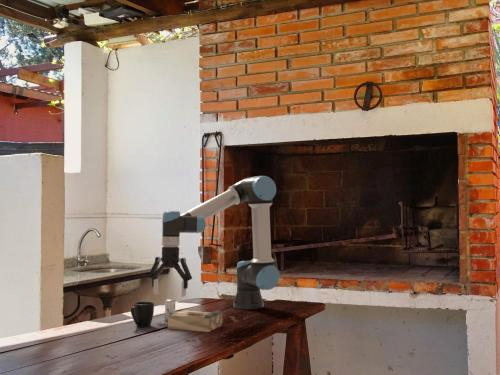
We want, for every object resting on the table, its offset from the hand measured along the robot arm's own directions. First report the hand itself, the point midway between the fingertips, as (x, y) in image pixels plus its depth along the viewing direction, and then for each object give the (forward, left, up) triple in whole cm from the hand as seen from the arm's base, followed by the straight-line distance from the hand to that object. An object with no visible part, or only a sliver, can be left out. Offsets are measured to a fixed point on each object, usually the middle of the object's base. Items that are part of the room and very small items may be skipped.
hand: (169, 295), depth 242 cm
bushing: (0, 0, -11) cm, 11 cm away
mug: (+16, -5, -11) cm, 20 cm away
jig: (+8, +16, -11) cm, 21 cm away
